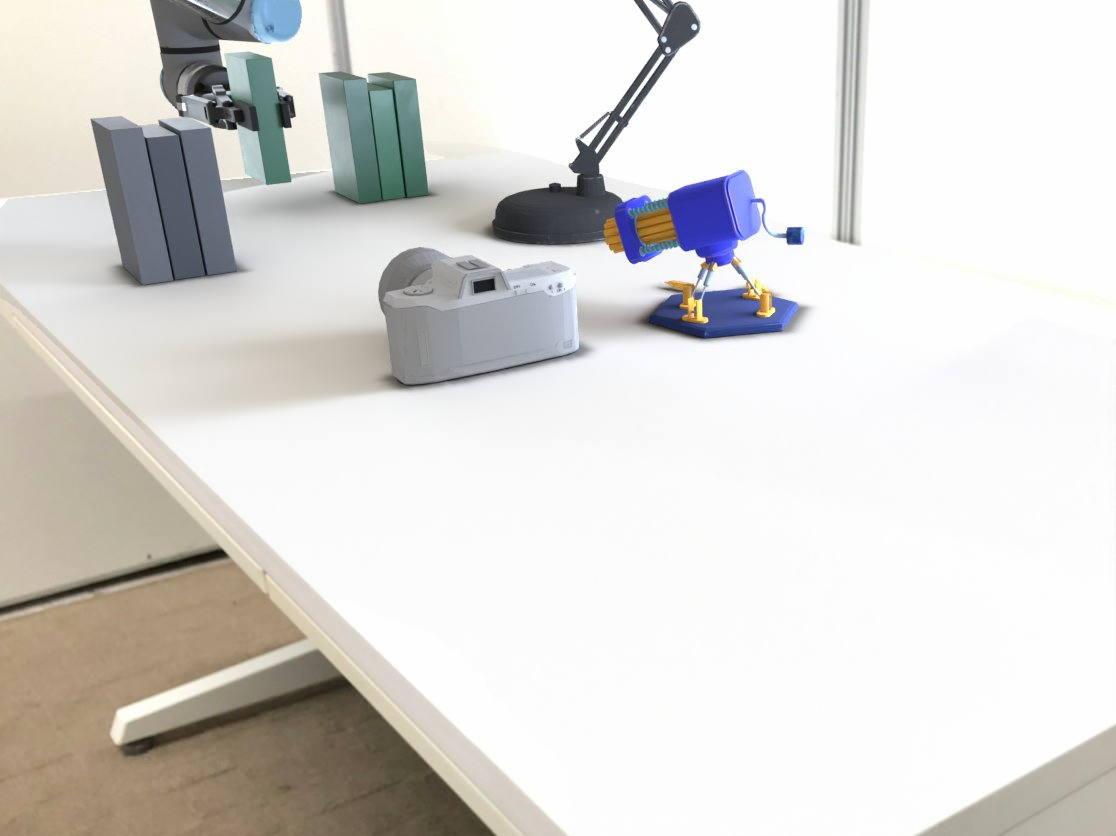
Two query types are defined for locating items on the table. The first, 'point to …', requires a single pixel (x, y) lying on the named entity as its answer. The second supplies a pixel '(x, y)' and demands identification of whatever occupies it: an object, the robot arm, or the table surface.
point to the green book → (259, 117)
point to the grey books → (165, 198)
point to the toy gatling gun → (704, 254)
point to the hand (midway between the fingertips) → (270, 117)
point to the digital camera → (473, 315)
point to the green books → (374, 135)
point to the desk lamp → (592, 156)
